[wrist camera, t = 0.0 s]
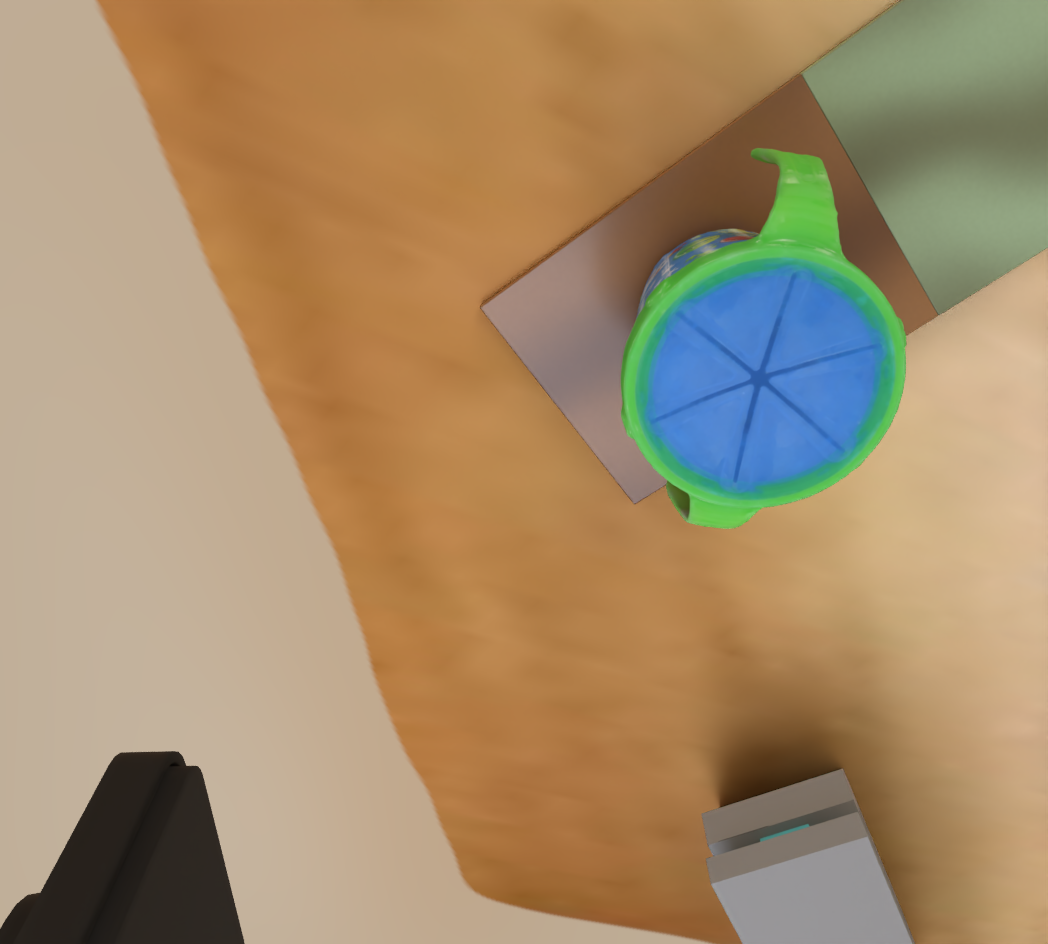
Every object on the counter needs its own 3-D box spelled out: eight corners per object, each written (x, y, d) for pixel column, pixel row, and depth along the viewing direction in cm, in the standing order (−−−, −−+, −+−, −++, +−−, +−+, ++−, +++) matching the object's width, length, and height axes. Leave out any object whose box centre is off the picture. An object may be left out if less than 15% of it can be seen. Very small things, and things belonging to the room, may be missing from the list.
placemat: (480, 305, 46) (479, 307, 45) (1071, -125, 38) (1076, -126, 37) (633, 501, 50) (634, 504, 50) (1188, 155, 43) (1194, 157, 42)
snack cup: (666, 100, 41) (704, 135, 32) (895, 169, 42) (994, 222, 33) (561, 425, 48) (568, 529, 39) (761, 476, 49) (813, 589, 40)
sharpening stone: (919, 953, 66) (986, 1121, 56) (807, 983, 68) (854, 1152, 58) (809, 687, 56) (867, 836, 46) (680, 730, 57) (710, 884, 48)
